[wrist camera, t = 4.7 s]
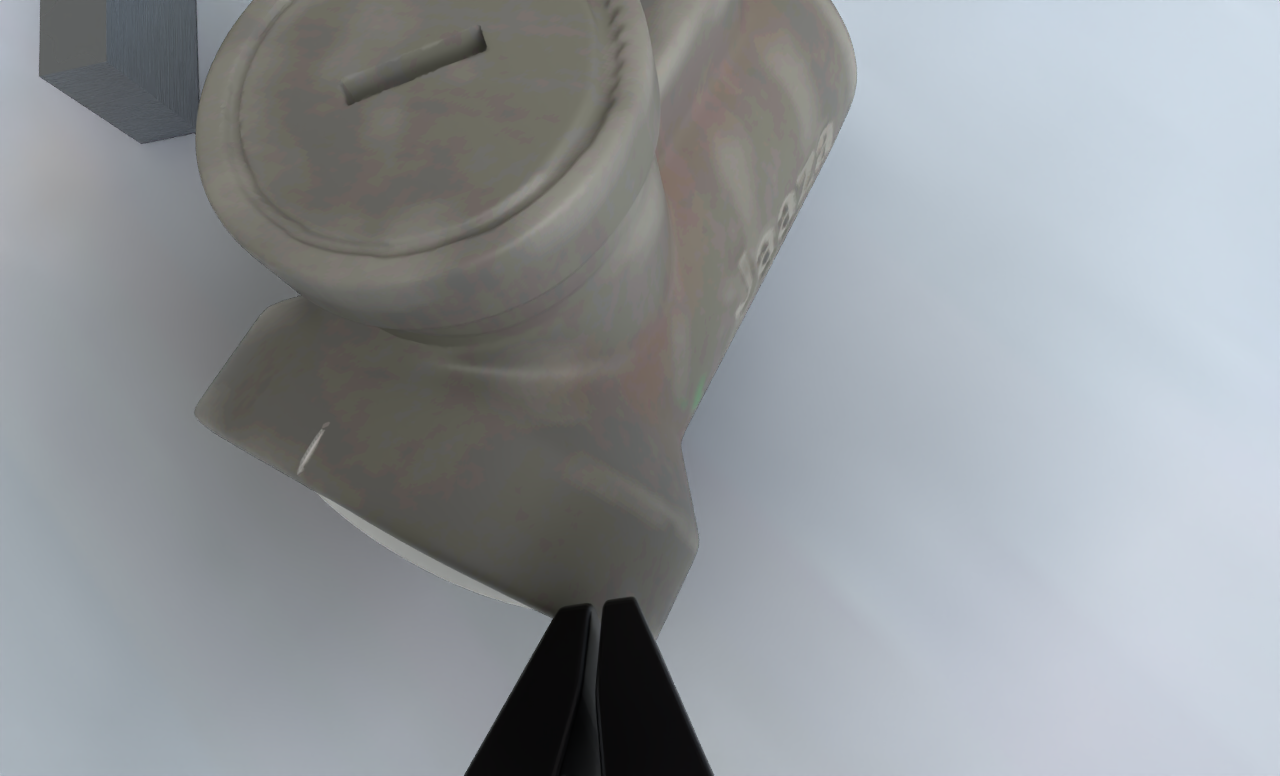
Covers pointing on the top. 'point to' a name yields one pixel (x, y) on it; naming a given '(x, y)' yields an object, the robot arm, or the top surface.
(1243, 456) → the top surface
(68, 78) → the duct bracket
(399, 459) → the pipe fitting
